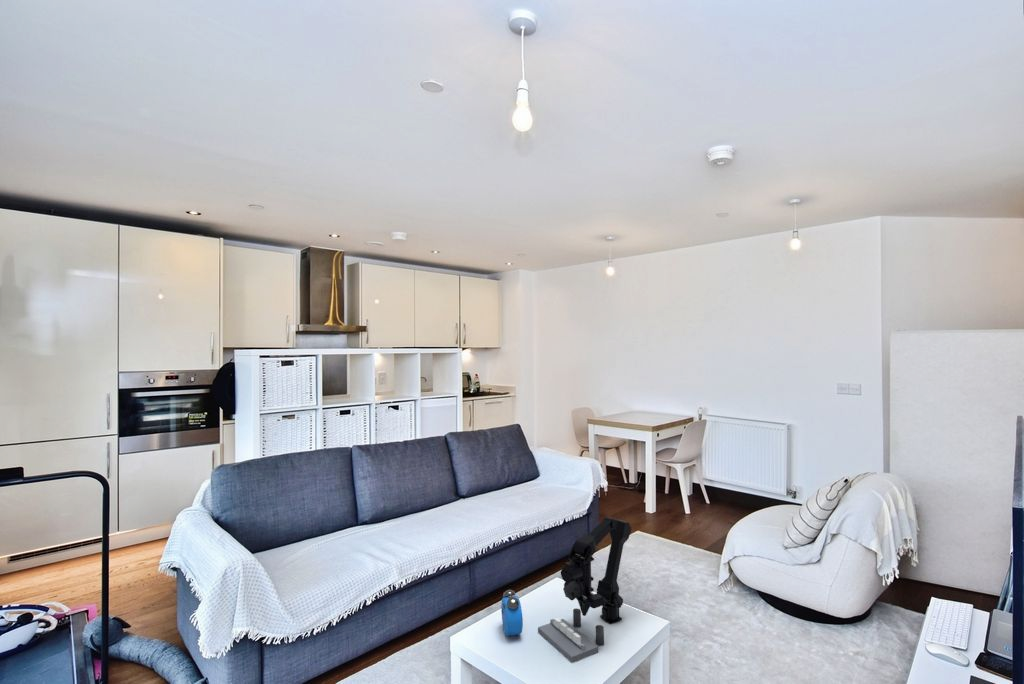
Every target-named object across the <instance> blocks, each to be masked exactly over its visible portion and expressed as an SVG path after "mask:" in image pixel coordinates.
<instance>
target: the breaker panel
mask: <svg viewBox="0 0 1024 684" xmlns="http://www.w3.org/2000/svg"><path fill="white" fill-rule="evenodd" d="M560 620H561V621H562V622H563V623H565V624H566V625H567V626H568V627H570V628H571V629H572V630H573V631H574V633H575V632H576V633H577V634H578V635H580V636H581V648H580V647H579V646H578V645H577V644H576V643H574V642H573V641H572V640H571V639H570V638H568V637H567V636H566V635H565V634H564V633H562V632H561V631H560V630H559V629H558V628H556V627H555V626H554V625H553V624H552V622H553V621H554V618H550V621H549V622H550V623H547V624H544V625H540V626H538V627H537V633H538V634H539V635H540V636H542V638H544V639H545V640H546V641H547V642H548V643H549V644H551V646H553V648H554V649H556V650H557V651H558V652H559V653H561V655H563V657H565V658H566V659H567V660H568V661H569V662H570V663H571V664H572V663H575V662H577V661H580V660H582V659H585V658H588V657H590V656H592V655H595V654H597V653H599V652H600V651H599V645H597V644H596V642H594V641H592V640H591V639H589V638H588V637H587V636H585V634H583V633H582V632H581V631H579V630H578V629H577V628H576V627H574V626H573V625H572V624H571V623H569V622H568V621H567V620H566V619H564V618H561V619H560Z"/></svg>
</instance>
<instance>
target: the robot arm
mask: <svg viewBox="0 0 1024 684" xmlns="http://www.w3.org/2000/svg"><path fill="white" fill-rule="evenodd" d="M631 532H632V526H631V524H630V522H629V521H625V520H621V519H619V518H613V517H608V516H605V517H603V518H602V521H601V522H600V523H599V524H597V526H596V527H595V528H593V530H591V532H589V534H587V535H585V536H580V537H579V538H577V539H576V540H574V542H573V545H572V547H571V550H570V552H569V554H568V558H567V559H568V560H569V561H567V562H565V563H564V566H563V567H561V570H560V576H561V578H562V581H564V584H563V592H564V593H563V594H564V595H565V597H566V598H567V599H569V600H570V601H574V600H575V599H576V600H577V603H578V606H579V609H580V610H581V616H583V617H586V616H587V614H588V612H589V611H590V610H589V609H590V608H592V609H596V608H599V607H601V615H599V617H600V618H601V619H603V620H604V621H605V622H607V624H608V623H609V625H612V624H614V623H618V622H620V621H623V617H621V616H620V609H621V608H622V606H623V604H624V599H623V598H622V596H620V594H619V593H620V587H619V583H618V575H619V570H620V565H621V559H622V553H623V549H624V545H625V544H626V542H627V541H628V540H629V538H630V535H631ZM608 535H610V540H611V541H610V542H611V543H610V547H609V553H608V558H607V563H606V569H605V573H604V577H603V578H601V580H600V579H599V580H598V581H597V588H596V593H594V591H595V590H594V587H592V581H593V582H594V577H593V576H592V562H593V561H595V558H594V557H593V556H594V554H595V553H596V551H597V546H598V545H599V544H600V543H601V542H602V540H604V538H605V537H607V536H608ZM576 555H577V556H576Z"/></svg>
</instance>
